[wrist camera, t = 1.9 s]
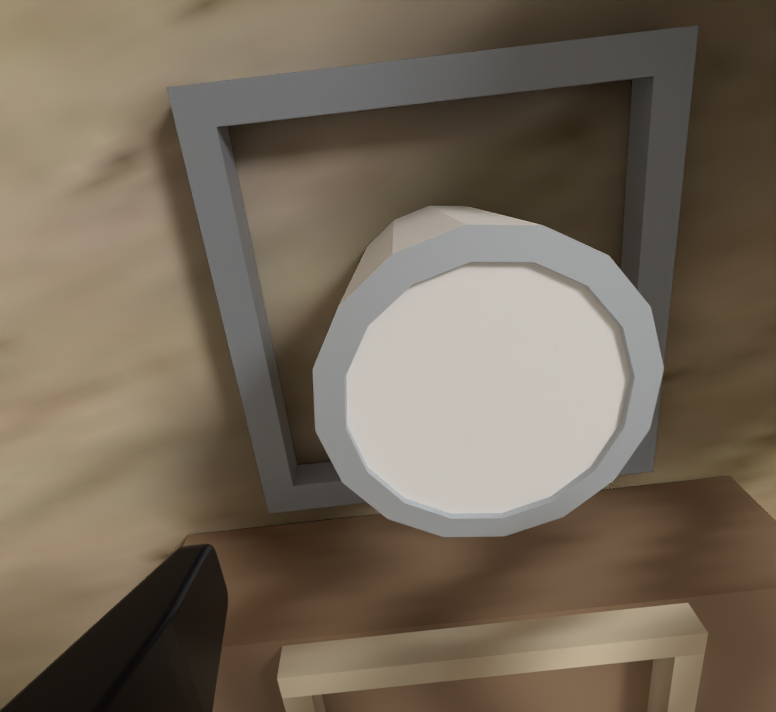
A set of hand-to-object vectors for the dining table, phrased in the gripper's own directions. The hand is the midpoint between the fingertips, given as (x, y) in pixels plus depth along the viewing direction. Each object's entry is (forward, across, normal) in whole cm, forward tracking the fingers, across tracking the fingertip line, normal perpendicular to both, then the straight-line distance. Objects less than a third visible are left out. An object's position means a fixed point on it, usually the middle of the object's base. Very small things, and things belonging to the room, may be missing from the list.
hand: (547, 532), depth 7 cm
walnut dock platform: (+10, 0, +14) cm, 17 cm away
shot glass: (+11, 0, 0) cm, 11 cm away
